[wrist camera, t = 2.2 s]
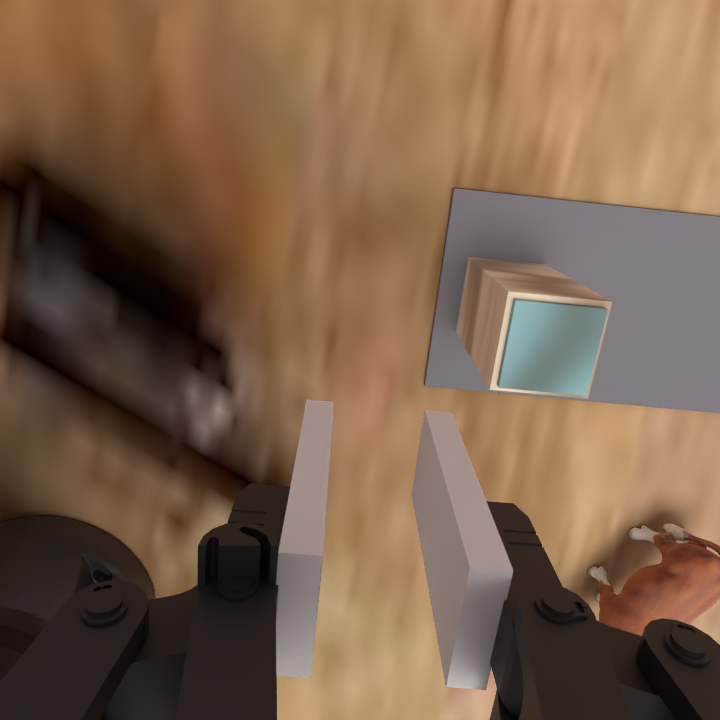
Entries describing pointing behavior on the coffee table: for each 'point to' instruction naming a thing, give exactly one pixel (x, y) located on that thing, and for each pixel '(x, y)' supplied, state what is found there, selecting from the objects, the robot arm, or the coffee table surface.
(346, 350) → the coffee table surface
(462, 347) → the felt mat
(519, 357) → the beech block
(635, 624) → the bull figurine
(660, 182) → the coffee table surface
